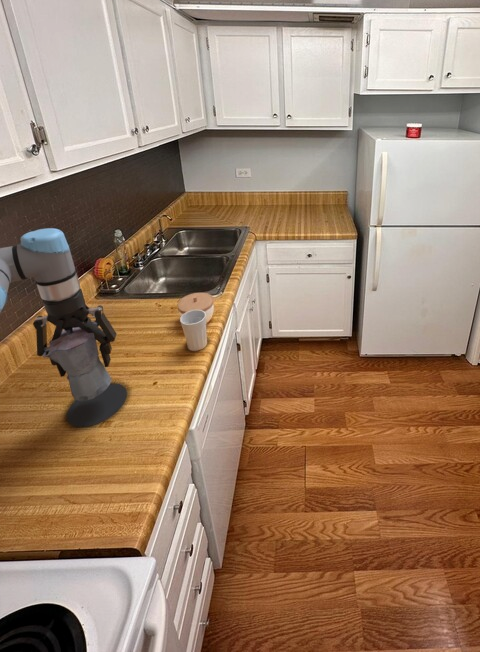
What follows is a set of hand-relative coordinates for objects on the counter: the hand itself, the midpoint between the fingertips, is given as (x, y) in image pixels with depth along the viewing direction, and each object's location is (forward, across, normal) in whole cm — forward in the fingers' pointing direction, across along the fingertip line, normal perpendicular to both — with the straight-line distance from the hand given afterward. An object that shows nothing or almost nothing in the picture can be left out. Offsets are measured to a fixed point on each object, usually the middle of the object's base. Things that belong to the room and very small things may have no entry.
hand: (86, 367), depth 86 cm
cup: (+14, -26, -16) cm, 33 cm away
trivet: (+14, 0, 0) cm, 14 cm away
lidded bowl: (+14, -26, -30) cm, 42 cm away
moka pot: (+7, 0, 0) cm, 7 cm away
